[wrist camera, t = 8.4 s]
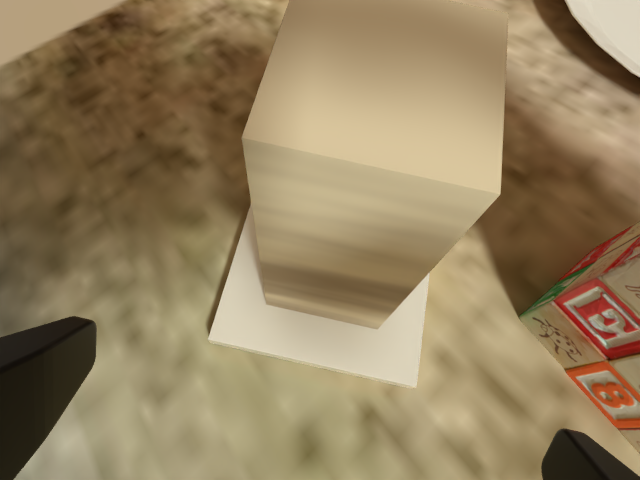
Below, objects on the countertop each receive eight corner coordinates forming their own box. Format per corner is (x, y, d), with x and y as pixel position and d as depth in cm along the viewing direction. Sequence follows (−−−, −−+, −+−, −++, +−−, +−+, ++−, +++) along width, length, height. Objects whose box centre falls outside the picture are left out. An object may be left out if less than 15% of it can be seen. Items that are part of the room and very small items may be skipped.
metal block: (377, 329, 19) (500, 194, 8) (266, 304, 19) (241, 137, 8) (393, 229, 21) (508, 13, 10) (292, 206, 21) (300, -32, 10)
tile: (411, 388, 19) (416, 387, 18) (210, 342, 19) (208, 339, 18) (432, 210, 23) (437, 203, 22) (263, 173, 23) (263, 164, 22)
